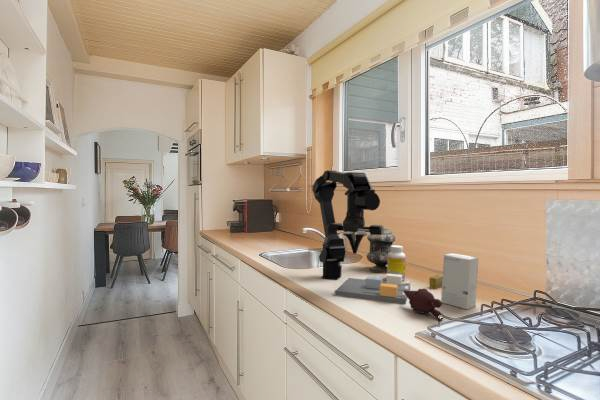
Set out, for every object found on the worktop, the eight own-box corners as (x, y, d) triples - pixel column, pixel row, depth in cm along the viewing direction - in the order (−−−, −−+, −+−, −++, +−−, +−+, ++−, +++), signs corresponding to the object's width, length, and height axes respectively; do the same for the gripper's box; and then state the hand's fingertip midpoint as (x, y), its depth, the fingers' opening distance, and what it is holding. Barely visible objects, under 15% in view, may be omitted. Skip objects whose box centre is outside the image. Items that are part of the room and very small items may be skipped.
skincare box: (440, 302, 104) (441, 254, 103) (450, 299, 108) (451, 252, 107) (468, 310, 97) (469, 258, 97) (478, 306, 101) (478, 256, 101)
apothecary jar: (398, 269, 149) (399, 228, 148) (390, 275, 138) (390, 231, 138) (372, 266, 155) (372, 226, 155) (362, 271, 145) (362, 229, 144)
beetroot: (392, 284, 100) (429, 304, 87) (412, 276, 103) (451, 294, 89) (395, 305, 102) (432, 329, 88) (415, 297, 104) (453, 318, 91)
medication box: (446, 282, 128) (446, 271, 128) (453, 283, 126) (453, 273, 126) (429, 288, 121) (429, 276, 121) (436, 289, 119) (436, 278, 119)
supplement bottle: (406, 282, 128) (406, 248, 127) (387, 281, 129) (388, 247, 129) (404, 277, 134) (404, 245, 134) (387, 276, 136) (387, 244, 135)
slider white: (386, 284, 119) (386, 275, 119) (387, 281, 122) (387, 273, 122) (401, 285, 117) (401, 277, 117) (402, 283, 120) (402, 274, 120)
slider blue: (365, 287, 114) (365, 278, 114) (367, 284, 118) (367, 276, 118) (380, 289, 112) (380, 280, 112) (382, 286, 116) (382, 277, 116)
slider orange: (379, 295, 106) (379, 285, 106) (381, 292, 109) (381, 283, 109) (396, 297, 104) (396, 287, 104) (397, 294, 107) (397, 284, 107)
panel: (335, 295, 111) (335, 287, 111) (348, 281, 128) (348, 274, 127) (405, 303, 103) (405, 295, 102) (410, 288, 119) (410, 280, 119)
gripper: (322, 209, 114) (321, 255, 114) (378, 210, 107) (378, 260, 107) (332, 207, 124) (331, 249, 125) (384, 209, 117) (383, 254, 118)
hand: (354, 253), depth 118 cm, fingers closed
